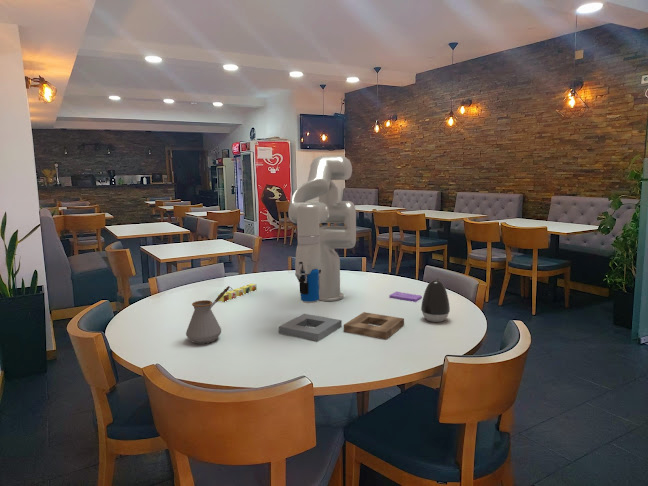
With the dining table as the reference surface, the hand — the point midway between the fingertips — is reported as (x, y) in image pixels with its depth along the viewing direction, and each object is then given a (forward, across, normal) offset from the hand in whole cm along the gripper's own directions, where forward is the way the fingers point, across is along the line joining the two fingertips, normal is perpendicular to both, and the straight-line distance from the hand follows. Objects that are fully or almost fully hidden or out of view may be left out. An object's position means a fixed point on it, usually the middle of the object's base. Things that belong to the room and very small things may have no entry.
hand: (309, 291), depth 157 cm
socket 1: (+14, 0, 0) cm, 14 cm away
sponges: (+15, -54, +15) cm, 58 cm away
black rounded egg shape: (+14, -31, +35) cm, 49 cm away
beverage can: (+4, 0, 0) cm, 4 cm away
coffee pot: (+14, +20, -27) cm, 37 cm away
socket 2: (+14, -12, +19) cm, 27 cm away
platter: (+15, -24, -52) cm, 59 cm away
